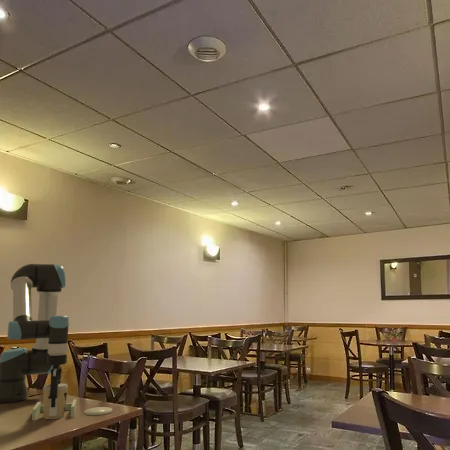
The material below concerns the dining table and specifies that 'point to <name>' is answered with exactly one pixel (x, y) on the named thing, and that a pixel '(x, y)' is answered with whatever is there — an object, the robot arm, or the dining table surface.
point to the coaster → (98, 411)
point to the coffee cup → (60, 401)
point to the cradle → (39, 408)
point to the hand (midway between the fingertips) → (54, 412)
